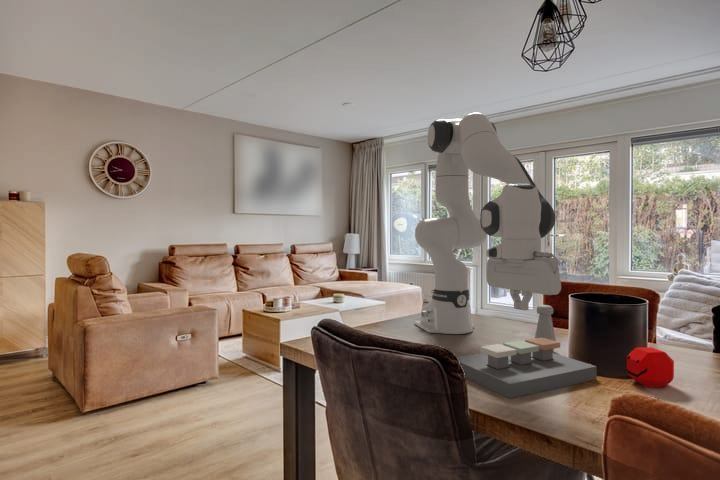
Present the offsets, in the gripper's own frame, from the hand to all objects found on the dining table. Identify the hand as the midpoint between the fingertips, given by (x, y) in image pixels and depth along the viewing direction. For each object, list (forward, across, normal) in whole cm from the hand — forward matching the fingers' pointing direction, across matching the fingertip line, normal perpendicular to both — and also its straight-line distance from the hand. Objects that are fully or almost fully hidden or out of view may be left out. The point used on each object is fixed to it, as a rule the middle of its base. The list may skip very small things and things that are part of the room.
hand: (521, 309), depth 102 cm
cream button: (+13, 0, +7) cm, 14 cm away
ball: (+16, -17, -21) cm, 31 cm away
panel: (+16, 0, 0) cm, 16 cm away
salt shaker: (+16, +12, -21) cm, 29 cm away
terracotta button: (+13, 0, -7) cm, 14 cm away
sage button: (+13, 0, 0) cm, 13 cm away
